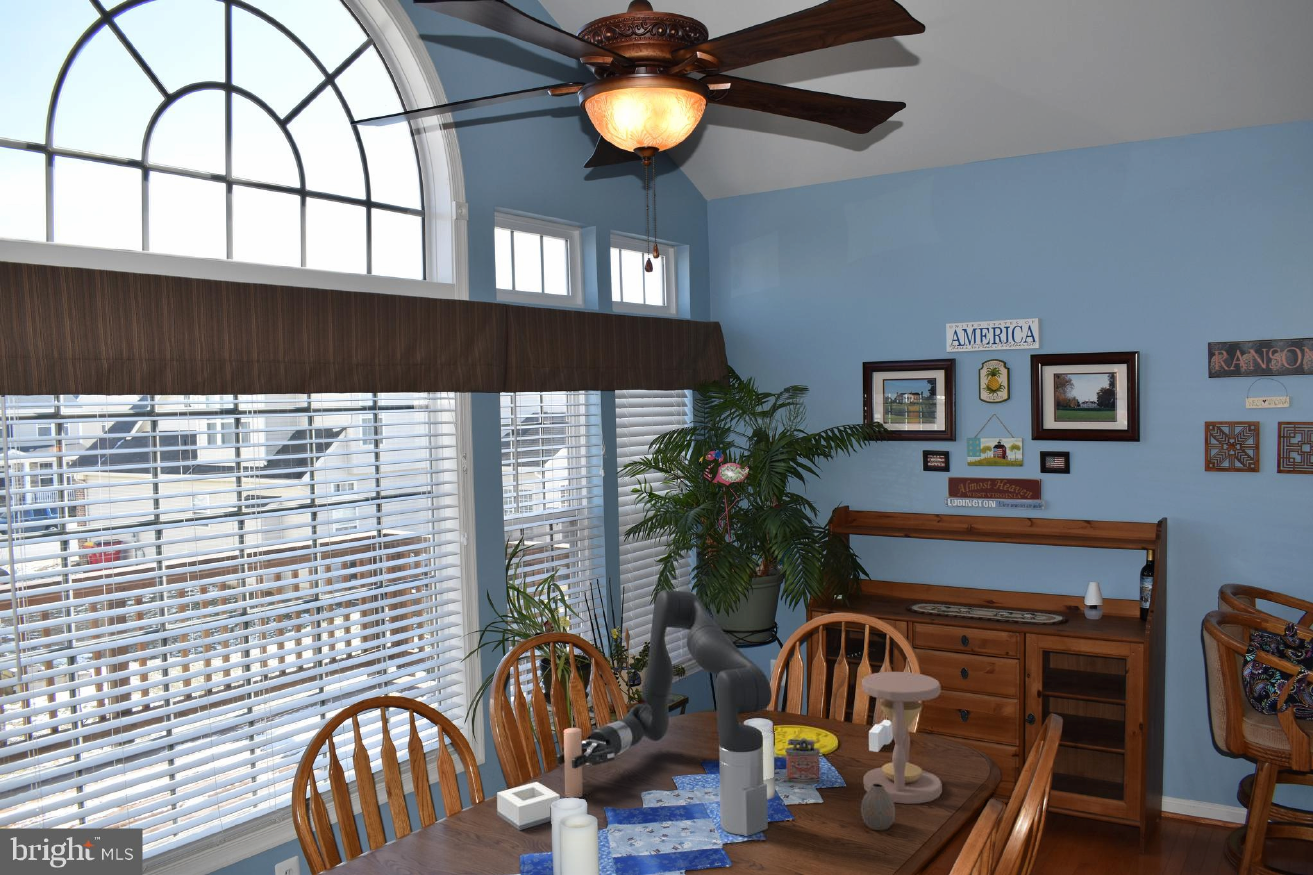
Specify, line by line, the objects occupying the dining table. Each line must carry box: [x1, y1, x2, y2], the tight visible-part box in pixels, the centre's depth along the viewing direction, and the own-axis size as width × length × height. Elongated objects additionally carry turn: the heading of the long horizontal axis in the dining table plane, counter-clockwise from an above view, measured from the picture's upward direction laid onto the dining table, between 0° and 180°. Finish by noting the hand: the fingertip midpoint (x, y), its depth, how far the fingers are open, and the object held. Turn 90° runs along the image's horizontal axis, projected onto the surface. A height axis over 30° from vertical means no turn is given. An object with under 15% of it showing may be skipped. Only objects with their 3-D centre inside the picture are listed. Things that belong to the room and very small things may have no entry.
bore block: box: [496, 781, 561, 831], centre depth 209 cm, size 10×10×5 cm
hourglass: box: [861, 671, 943, 805], centre depth 221 cm, size 18×18×25 cm
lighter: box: [785, 738, 821, 785], centre depth 227 cm, size 8×3×10 cm, turn 84°
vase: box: [860, 783, 896, 831], centre depth 201 cm, size 7×7×9 cm
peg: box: [563, 727, 584, 798], centre depth 221 cm, size 4×4×15 cm
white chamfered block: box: [868, 719, 894, 753], centre depth 251 cm, size 15×11×6 cm
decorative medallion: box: [773, 724, 839, 758], centre depth 254 cm, size 24×24×2 cm
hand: (565, 762), depth 218 cm, fingers closed on peg, 4 cm apart
